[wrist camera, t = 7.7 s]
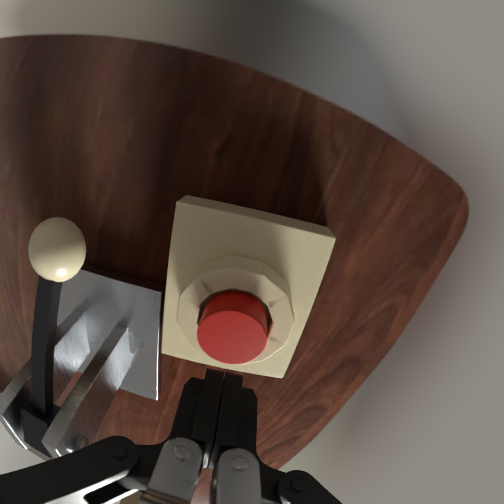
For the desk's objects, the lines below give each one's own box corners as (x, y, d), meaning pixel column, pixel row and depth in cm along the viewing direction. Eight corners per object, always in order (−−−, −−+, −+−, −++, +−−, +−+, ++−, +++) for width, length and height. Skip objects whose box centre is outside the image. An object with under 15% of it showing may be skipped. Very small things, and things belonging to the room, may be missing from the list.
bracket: (56, 253, 19) (-57, 340, 7) (166, 284, 19) (80, 435, 7) (72, 359, 23) (12, 450, 11) (160, 391, 24) (121, 507, 12)
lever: (58, 219, 14) (26, 205, 11) (102, 230, 14) (73, 216, 11) (39, 422, 12) (13, 440, 9) (78, 443, 12) (55, 467, 9)
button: (208, 284, 15) (201, 302, 13) (273, 298, 15) (275, 318, 13) (199, 335, 16) (193, 356, 15) (258, 348, 17) (257, 370, 15)
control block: (186, 194, 17) (165, 208, 13) (327, 226, 17) (344, 248, 14) (168, 335, 21) (153, 369, 17) (281, 359, 21) (284, 396, 18)
